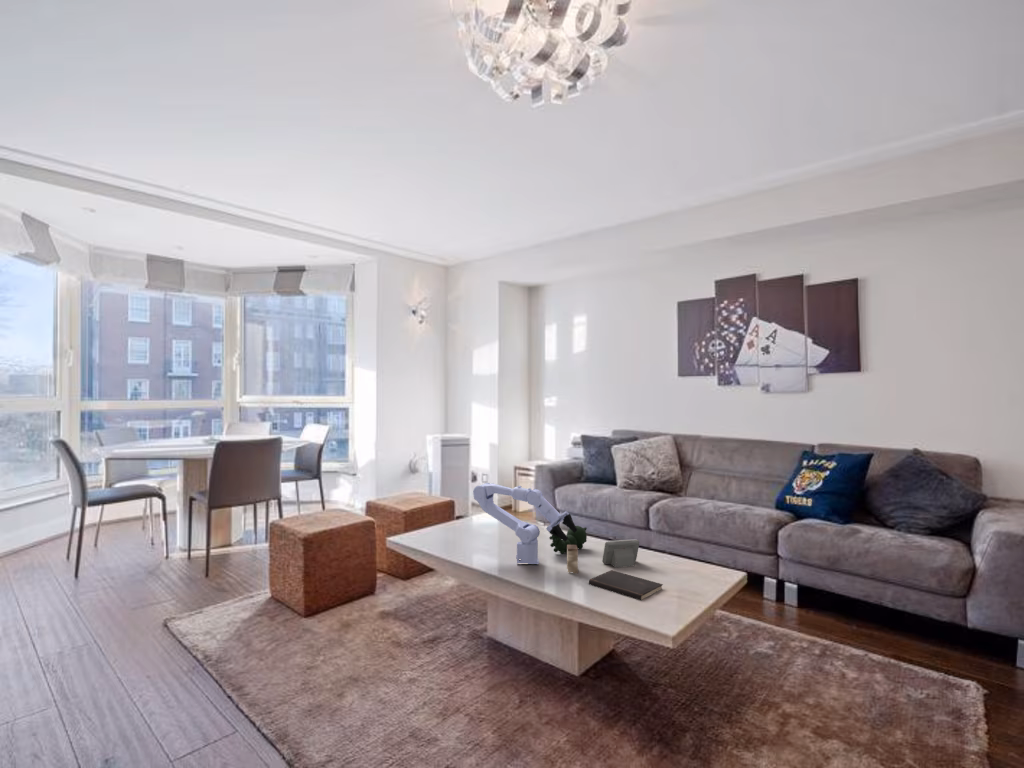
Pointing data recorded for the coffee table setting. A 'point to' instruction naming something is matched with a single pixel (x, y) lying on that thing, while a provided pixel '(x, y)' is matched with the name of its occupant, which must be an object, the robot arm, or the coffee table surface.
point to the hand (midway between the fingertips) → (571, 535)
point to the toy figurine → (569, 540)
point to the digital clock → (620, 552)
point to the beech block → (572, 558)
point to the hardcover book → (625, 584)
